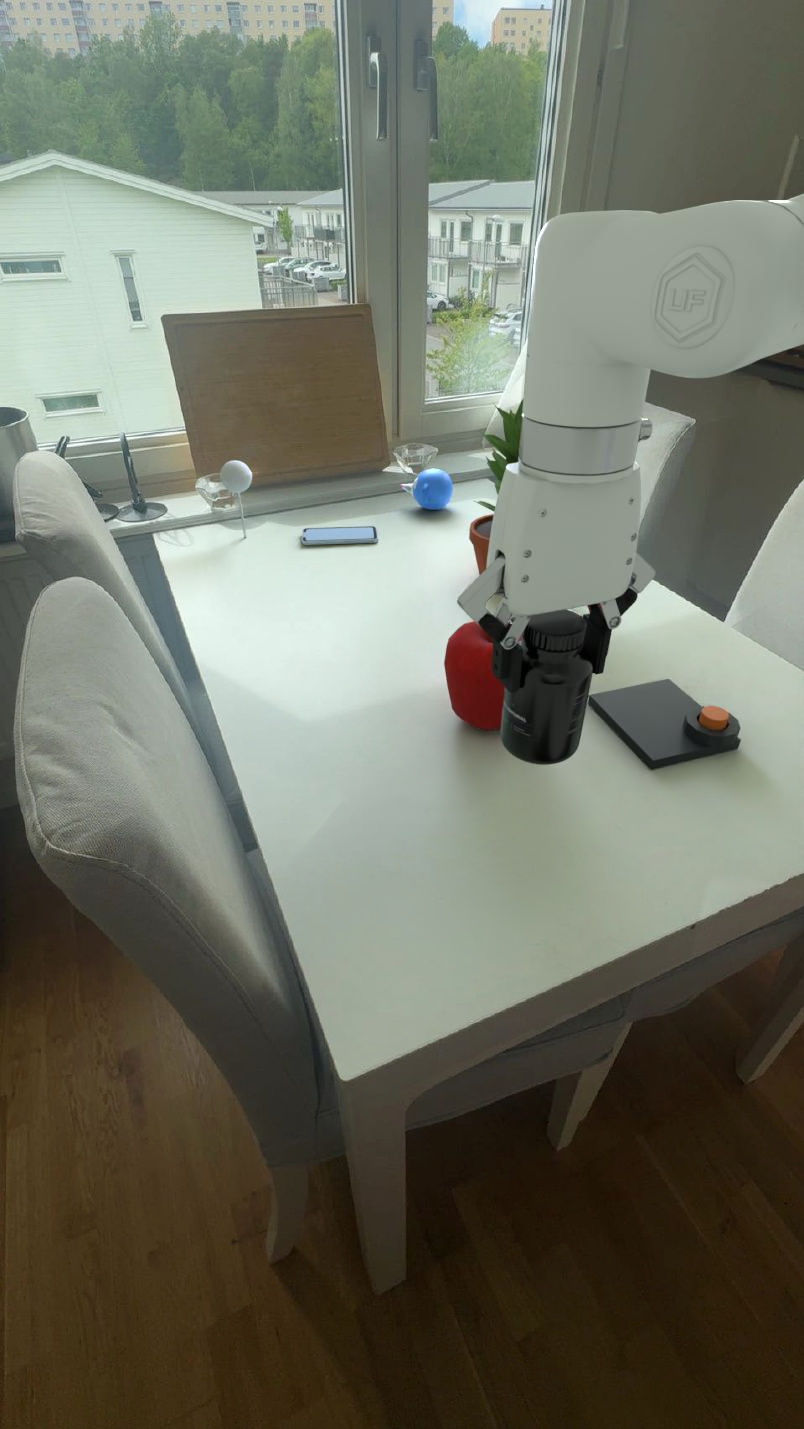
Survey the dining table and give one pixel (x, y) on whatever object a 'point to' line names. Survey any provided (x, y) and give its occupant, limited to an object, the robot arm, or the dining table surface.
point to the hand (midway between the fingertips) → (548, 673)
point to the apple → (473, 677)
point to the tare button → (713, 718)
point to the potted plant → (510, 450)
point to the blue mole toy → (431, 489)
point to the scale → (662, 723)
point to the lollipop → (236, 481)
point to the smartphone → (339, 535)
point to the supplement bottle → (549, 690)
